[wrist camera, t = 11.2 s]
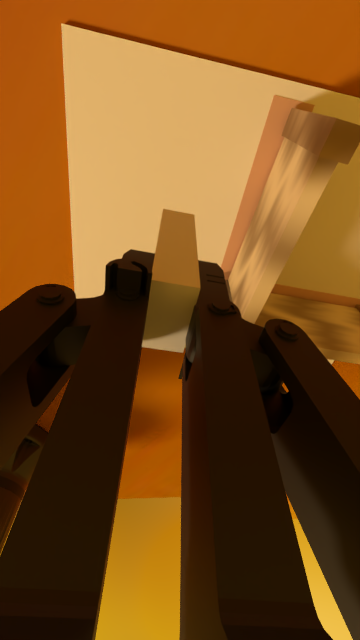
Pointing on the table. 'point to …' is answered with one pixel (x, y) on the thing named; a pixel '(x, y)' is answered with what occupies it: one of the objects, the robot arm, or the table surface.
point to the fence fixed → (318, 323)
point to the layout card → (194, 162)
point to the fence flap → (288, 203)
